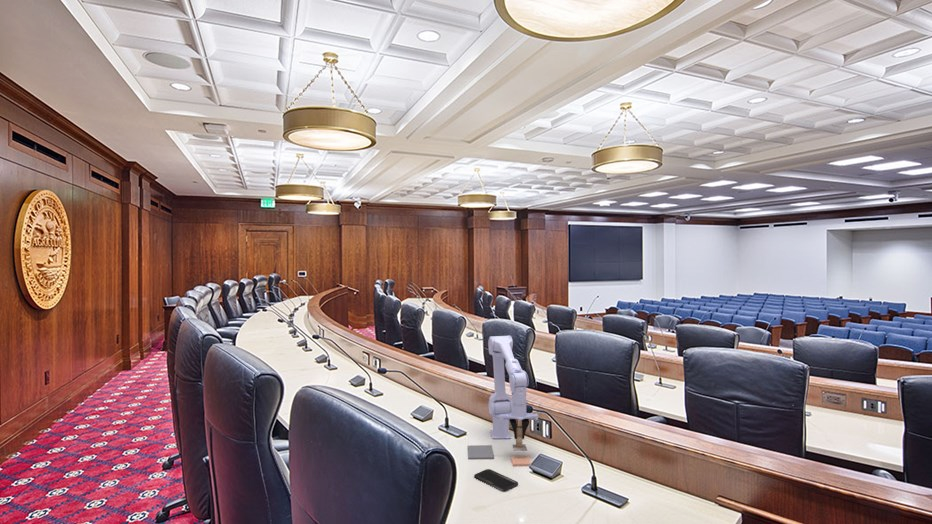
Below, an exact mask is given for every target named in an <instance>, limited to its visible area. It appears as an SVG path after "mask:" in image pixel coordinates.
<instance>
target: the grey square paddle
mask: <svg viewBox="0 0 932 524" xmlns="http://www.w3.org/2000/svg"><path fill="white" fill-rule="evenodd" d="M512 449H513V452H527V451H528V448H527V446H526V444H524V443H523V439H522V425H517V439H515V444H514V443H513V444H512Z"/></svg>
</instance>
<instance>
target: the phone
mask: <svg viewBox="0 0 932 524" xmlns="http://www.w3.org/2000/svg"><path fill="white" fill-rule="evenodd" d="M473 478H474V479H475V478H476V480H477V479H478V480H477V481H479V480H480V481H479V482H481V481H482V482H481V483H483V482H484V483H483V484H485V483H486V484H485V485H487V486H489V485H490V486H489V487H491V486H492V487H491V488H493V487H494V489H495V488H496V489H495V490H497V489H498V490H497V491H499V492H502V493H506V492H508V491H511V490H512V489H514V488H516V487H518V486H519V482H518V481H517V480H515V479H512V478H510V477H508V476H506V475H504V474H501V473H499V472H497V471H495V470H493V469H490V468H486V469H484V470H482V471H480V472H477V473H475V474H473Z"/></svg>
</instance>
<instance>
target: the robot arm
mask: <svg viewBox="0 0 932 524" xmlns="http://www.w3.org/2000/svg"><path fill="white" fill-rule="evenodd" d="M487 344H488V345H487V346H488V354H489V355H490V356H492V365H493V366H492V367H493V381H494V382H493V383H494V393H492V394H491V395H490V396H489V398H488V412H489V414H490V416H492V429H491V430H490V433H491V437H492V439H493V440H496V439H497V440H498V439H499V440H501V439H511V438H512V437H511V434H510V426H511V428H512V431H513V435H514V440H516V439H517V426H518V423H517V421H519V420H520V422H521V426H522V440H525V436H526V433H527V428H529V426H530V421H531V420H533V421H538V420H539V415H538V413H531V412H527V387H529V383H530V380H529V376H528V373H527V372H526V371H525V370H523V368H522V367H521V364H520V362H519V360H518V359H517V358H515V357H514V353H513V351H512V350H513V348H514V347H513V346H514V341H513V338H512V335H509V334H508V335H498V336H497V335H495V336H494V335H493V336H491V335H490V336H489V338H488V341H487ZM504 360H505V361H504ZM505 369H506V371H507V374H508V376H509V378H508V381H509V388H510V392H511V396H510V394H508V393H507V392H506V391H507V390H506V377H505V376H506V375H505Z"/></svg>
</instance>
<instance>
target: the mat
mask: <svg viewBox="0 0 932 524" xmlns="http://www.w3.org/2000/svg"><path fill="white" fill-rule="evenodd" d="M467 456H468V457H467V459H468V460H495V455H494V451H493V445H491V444H489V445H488V444H483V445H479V444H478V445H467Z"/></svg>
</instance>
